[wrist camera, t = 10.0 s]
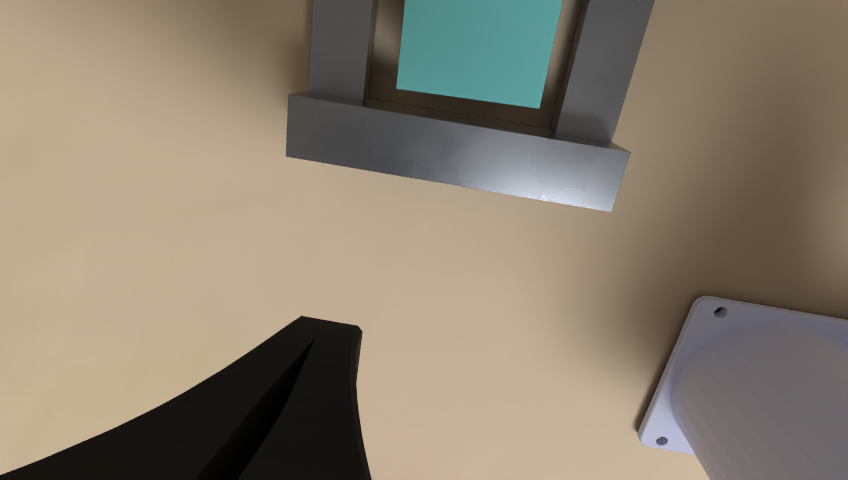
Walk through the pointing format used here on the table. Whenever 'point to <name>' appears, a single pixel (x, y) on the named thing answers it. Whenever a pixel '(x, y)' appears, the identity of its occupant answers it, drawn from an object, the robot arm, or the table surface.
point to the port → (464, 134)
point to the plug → (478, 48)
